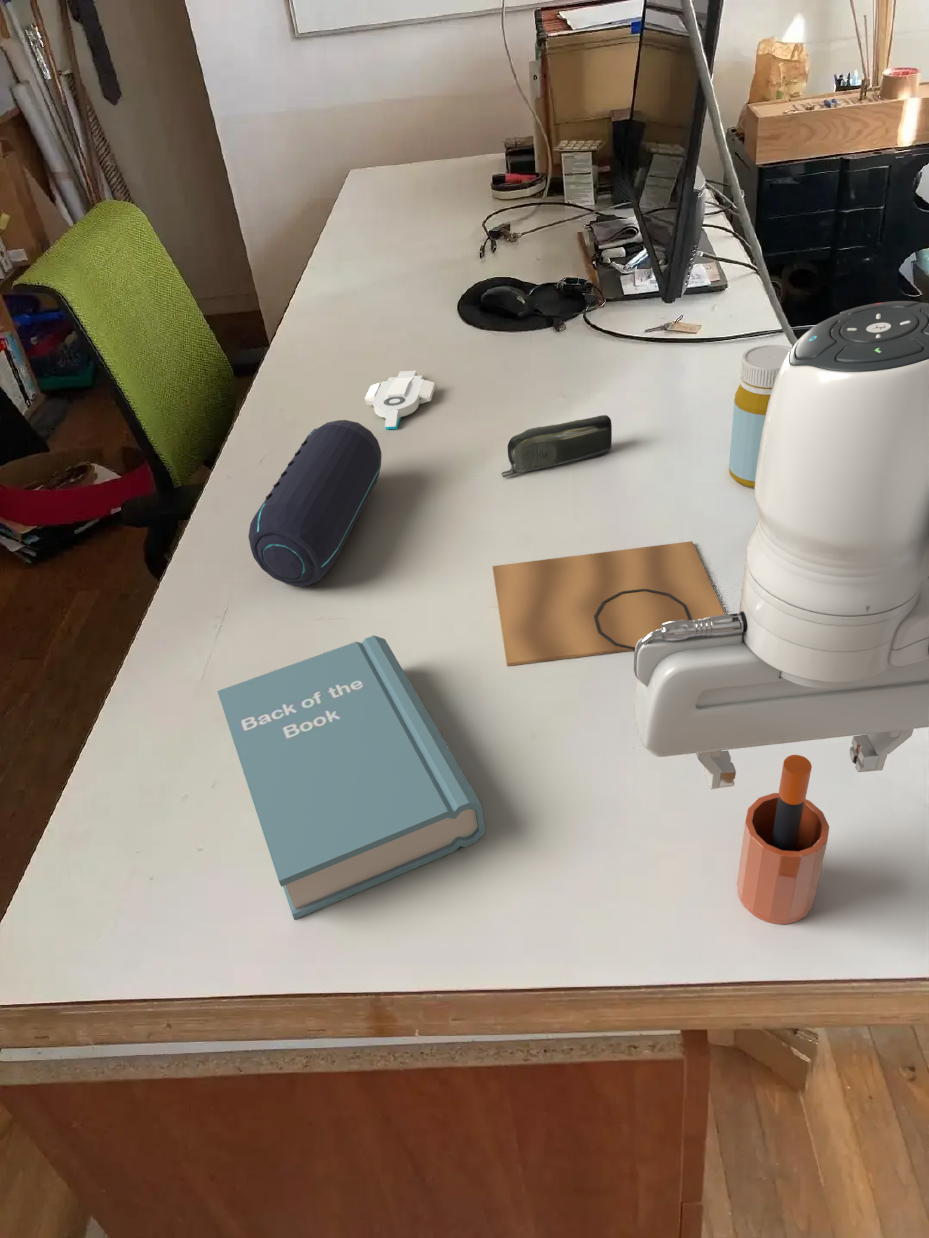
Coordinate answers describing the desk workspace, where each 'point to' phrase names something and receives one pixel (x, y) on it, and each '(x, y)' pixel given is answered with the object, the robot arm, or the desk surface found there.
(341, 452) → the portable speaker
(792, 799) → the marker
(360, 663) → the book
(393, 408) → the toy rocket
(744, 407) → the bottle
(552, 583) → the paper mat
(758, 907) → the pen cup
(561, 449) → the mobile phone
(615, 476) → the desk surface
